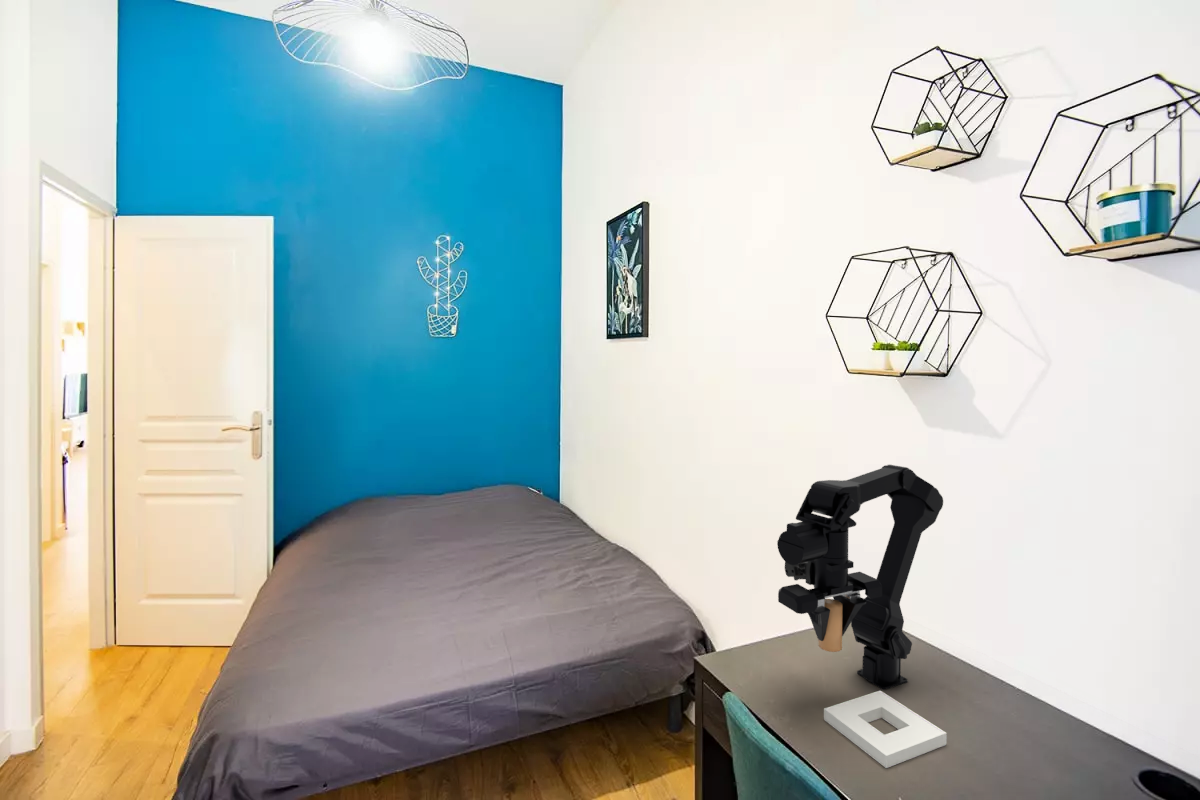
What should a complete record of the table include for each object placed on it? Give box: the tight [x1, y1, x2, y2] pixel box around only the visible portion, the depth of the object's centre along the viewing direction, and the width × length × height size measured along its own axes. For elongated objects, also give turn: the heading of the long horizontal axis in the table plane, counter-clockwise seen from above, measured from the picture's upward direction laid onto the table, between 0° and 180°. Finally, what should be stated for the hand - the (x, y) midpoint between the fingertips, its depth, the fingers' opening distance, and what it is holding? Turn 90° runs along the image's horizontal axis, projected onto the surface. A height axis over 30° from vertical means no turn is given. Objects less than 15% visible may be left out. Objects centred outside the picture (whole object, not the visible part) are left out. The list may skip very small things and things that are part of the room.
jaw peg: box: [817, 598, 843, 653], centre depth 105 cm, size 4×4×8 cm
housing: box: [823, 690, 948, 769], centre depth 98 cm, size 13×13×2 cm
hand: (830, 637), depth 106 cm, fingers closed on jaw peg, 4 cm apart
